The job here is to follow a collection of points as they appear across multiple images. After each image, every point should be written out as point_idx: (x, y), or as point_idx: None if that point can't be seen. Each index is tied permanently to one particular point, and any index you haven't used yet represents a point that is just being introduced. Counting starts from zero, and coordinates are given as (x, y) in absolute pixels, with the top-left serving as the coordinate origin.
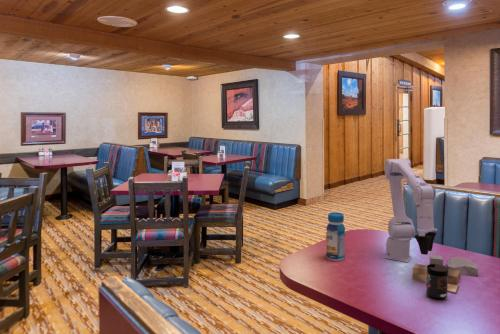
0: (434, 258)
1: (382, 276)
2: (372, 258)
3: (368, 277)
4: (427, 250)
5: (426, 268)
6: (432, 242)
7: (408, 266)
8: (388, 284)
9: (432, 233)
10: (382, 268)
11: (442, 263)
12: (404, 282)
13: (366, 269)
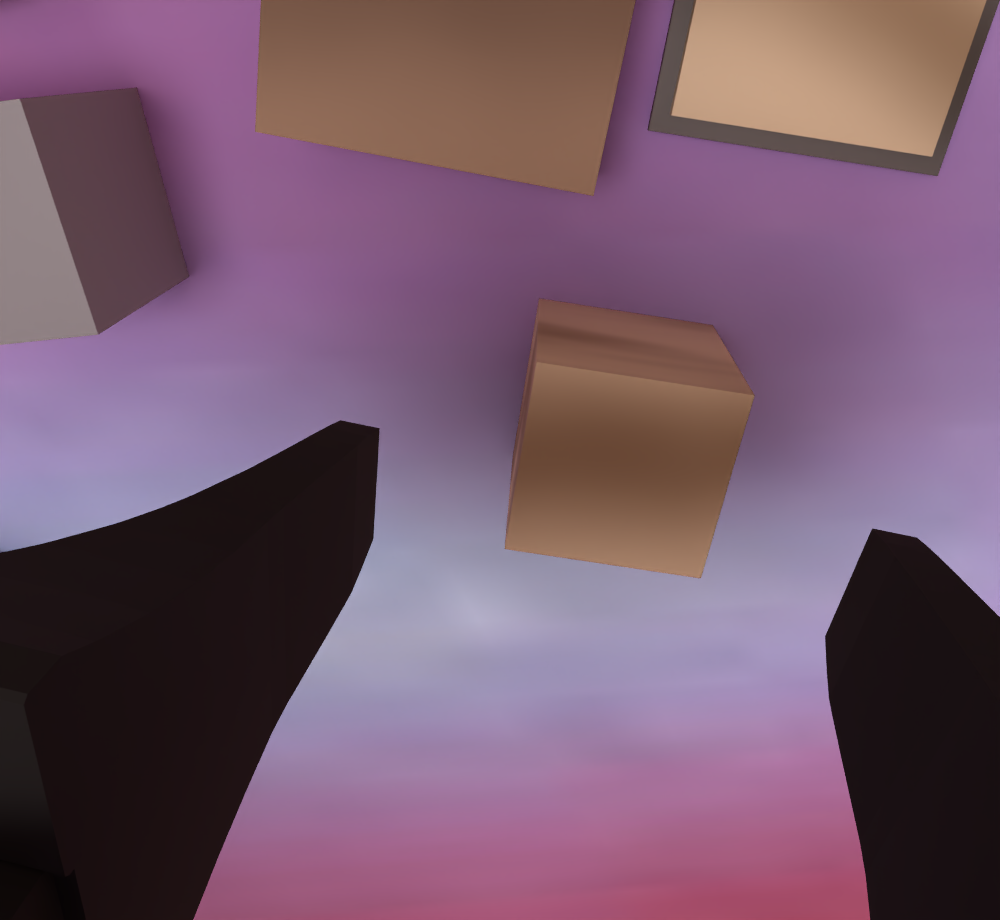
0: (57, 267)
1: (700, 766)
2: None
3: (780, 869)
4: (979, 605)
5: (669, 381)
6: (270, 527)
7: None
8: None
9: (75, 784)
10: (454, 786)
11: (67, 101)
12: (804, 556)
13: (561, 903)
